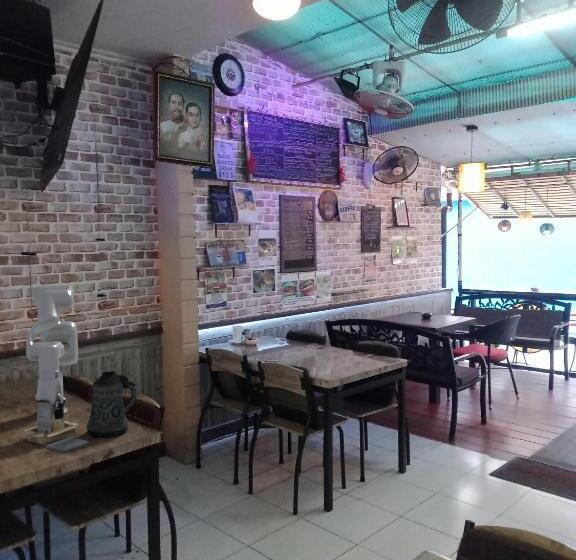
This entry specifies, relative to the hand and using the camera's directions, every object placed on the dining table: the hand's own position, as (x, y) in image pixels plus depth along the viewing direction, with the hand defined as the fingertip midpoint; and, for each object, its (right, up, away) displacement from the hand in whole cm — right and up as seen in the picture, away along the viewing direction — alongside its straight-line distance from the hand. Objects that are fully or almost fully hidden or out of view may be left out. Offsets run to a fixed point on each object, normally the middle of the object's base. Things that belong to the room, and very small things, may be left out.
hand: (50, 417), depth 225 cm
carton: (0, -8, +1) cm, 8 cm away
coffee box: (0, -9, +1) cm, 9 cm away
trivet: (+10, -9, -9) cm, 16 cm away
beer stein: (+22, -8, +7) cm, 24 cm away
